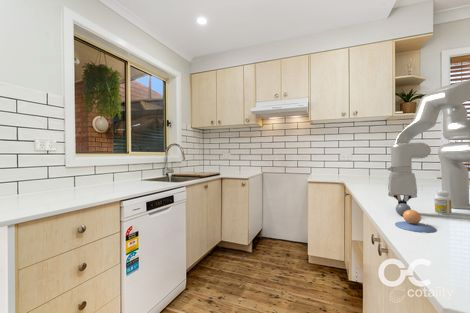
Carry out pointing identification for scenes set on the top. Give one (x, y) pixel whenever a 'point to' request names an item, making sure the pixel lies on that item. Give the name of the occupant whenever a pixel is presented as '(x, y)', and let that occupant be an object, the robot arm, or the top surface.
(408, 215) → the object ball
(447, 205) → the supplement bottle
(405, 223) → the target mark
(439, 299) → the top surface
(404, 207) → the grey ball
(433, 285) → the top surface
